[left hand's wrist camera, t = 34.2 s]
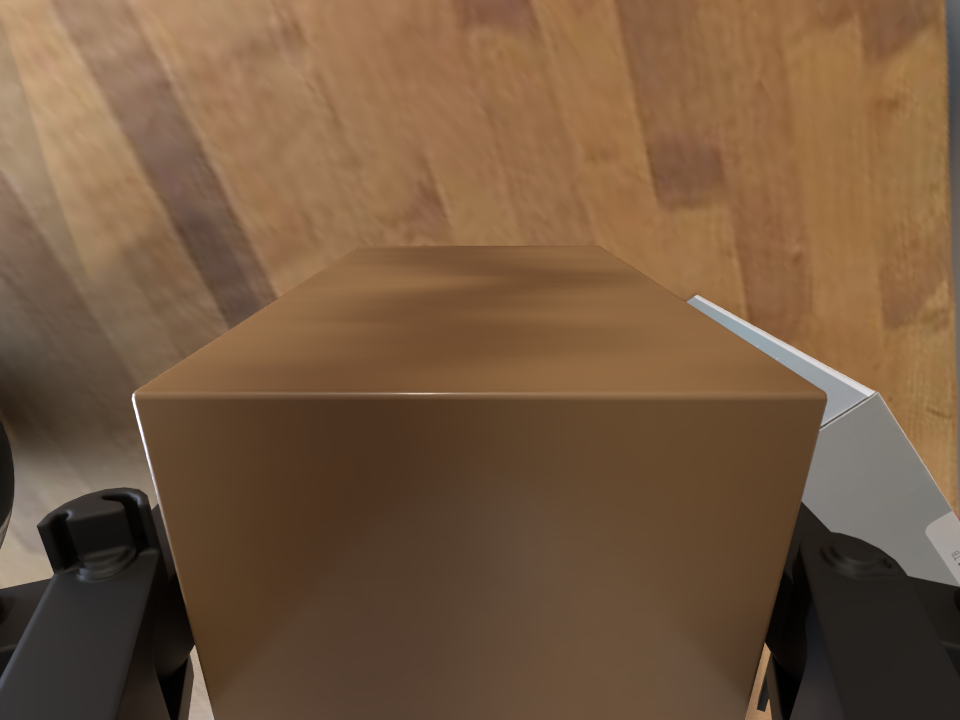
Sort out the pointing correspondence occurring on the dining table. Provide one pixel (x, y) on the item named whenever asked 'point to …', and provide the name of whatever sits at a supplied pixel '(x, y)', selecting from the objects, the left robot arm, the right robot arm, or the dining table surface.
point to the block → (479, 493)
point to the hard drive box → (865, 467)
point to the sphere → (5, 483)
